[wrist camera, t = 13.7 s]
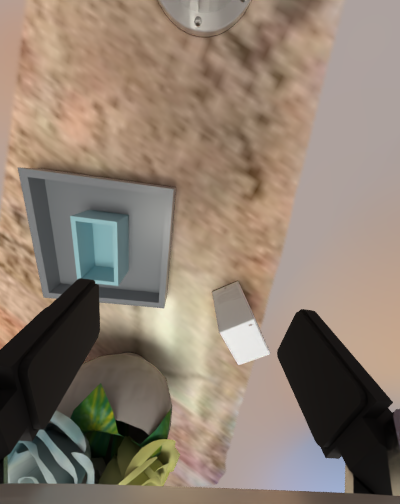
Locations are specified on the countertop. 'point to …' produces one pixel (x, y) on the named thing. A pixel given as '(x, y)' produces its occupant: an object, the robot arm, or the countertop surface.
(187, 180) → the countertop surface
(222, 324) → the small box
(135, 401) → the flower arrangement
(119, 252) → the small crate
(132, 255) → the gray square tray
